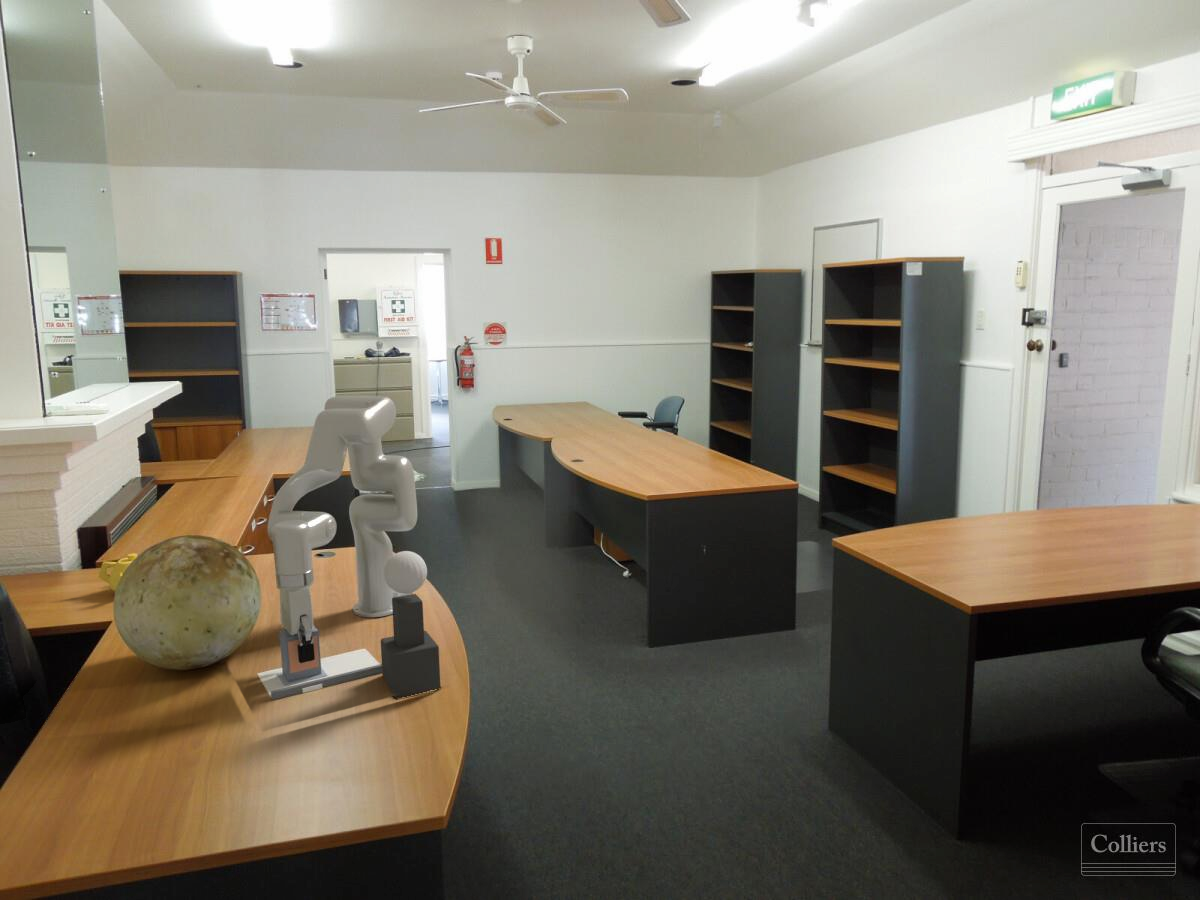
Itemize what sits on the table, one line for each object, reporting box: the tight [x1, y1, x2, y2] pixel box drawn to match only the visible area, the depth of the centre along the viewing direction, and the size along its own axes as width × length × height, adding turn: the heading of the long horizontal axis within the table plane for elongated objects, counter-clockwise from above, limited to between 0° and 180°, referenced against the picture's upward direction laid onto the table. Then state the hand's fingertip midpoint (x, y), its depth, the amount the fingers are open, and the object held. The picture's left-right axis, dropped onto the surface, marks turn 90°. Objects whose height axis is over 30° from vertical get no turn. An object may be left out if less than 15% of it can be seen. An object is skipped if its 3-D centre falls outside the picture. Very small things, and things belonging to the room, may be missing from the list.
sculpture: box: [380, 550, 441, 700], centre depth 178 cm, size 10×10×30 cm
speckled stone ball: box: [113, 534, 262, 671], centre depth 190 cm, size 30×30×30 cm
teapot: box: [98, 552, 141, 593], centre depth 241 cm, size 20×18×11 cm
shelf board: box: [256, 647, 382, 701], centre depth 184 cm, size 24×15×3 cm, turn 123°
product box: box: [278, 625, 322, 682], centre depth 182 cm, size 5×7×10 cm
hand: (301, 653), depth 182 cm, fingers open, 9 cm apart
